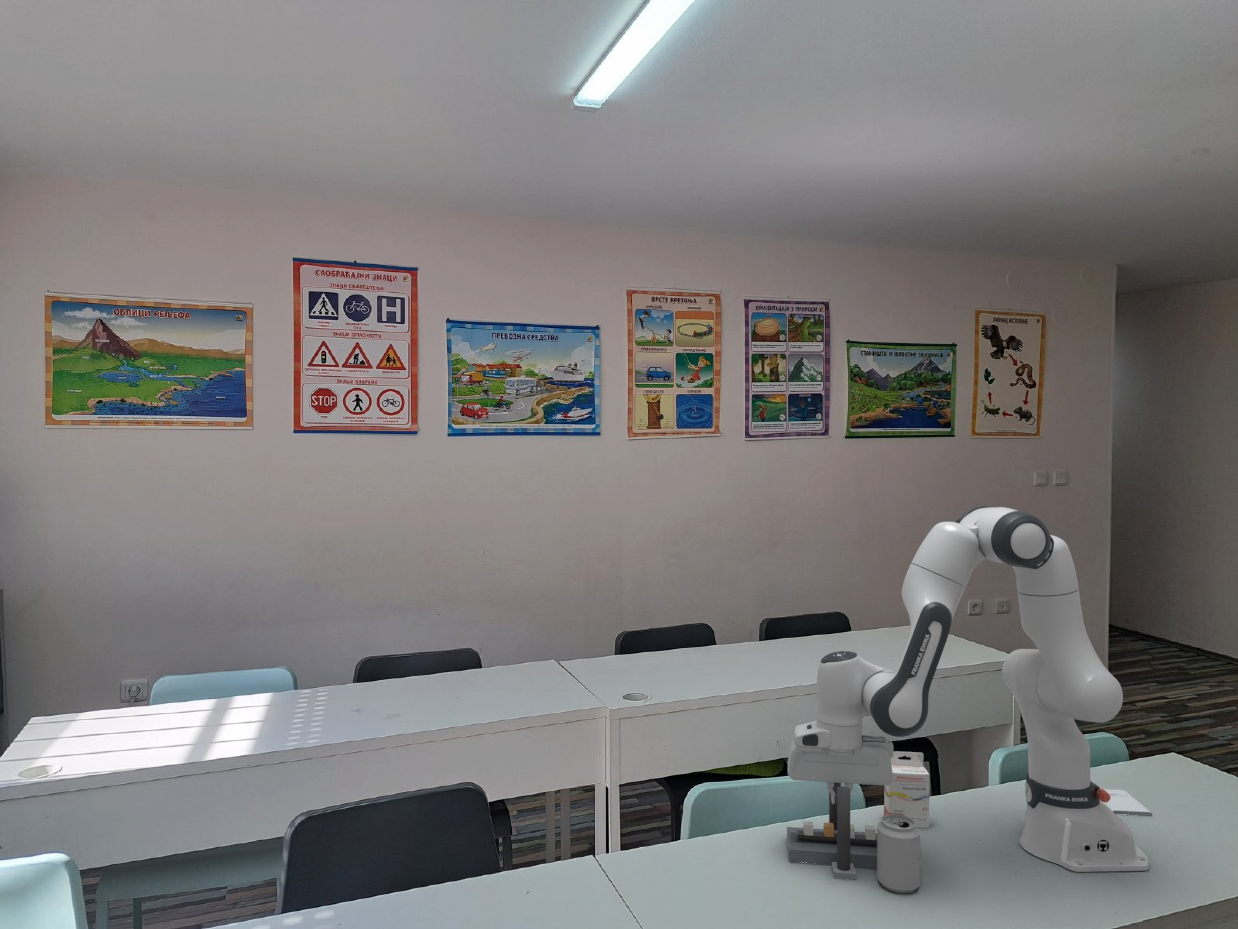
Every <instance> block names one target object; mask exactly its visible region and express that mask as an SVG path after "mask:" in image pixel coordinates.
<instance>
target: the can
mask: <svg viewBox="0 0 1238 929" xmlns="http://www.w3.org/2000/svg"><path fill="white" fill-rule="evenodd" d="M876 833H877V869H876V878H877V880H878V881H879V882H880V883H881V885H882V887H884V888H885V889H887V890H889V891H891V892H894V893H900V894H907V893H911V892H914V890H916V889H918V887H920V882H921V881H920V880H921V869H920V868H921V842H920V841H921V831H920V829H919V827H916V822H915V821H914V820H913V819H911V818H909V817H907V816H904V815H899V814H888V815H884V814H883V815H882V816H881V818H880V822H878V823H877V827H876Z"/></svg>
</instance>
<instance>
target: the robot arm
mask: <svg viewBox="0 0 1238 929" xmlns="http://www.w3.org/2000/svg"><path fill="white" fill-rule="evenodd" d="M984 561H988V562H992V563H996V564H1006V565H1008V566H1011V567H1012V569H1013V571H1014V574H1015V583H1016V591H1017V599H1018V606H1019V607H1018V608H1019V616H1020V624H1021V627H1022V630H1023V631H1024V633H1025V634H1026V636H1027V637H1029V639H1030V640H1031V641H1032V642H1033V644H1034V645H1035V647H1036V648H1019V649H1015V650H1013V651H1012V652H1010V653H1009V654H1008V655H1006V658H1005V659H1004V662H1003V664H1002V668H1001V673H1002V680H1003V682H1004V685H1005V686H1006V687H1007V688H1008V690H1009V691H1010V692H1011V693H1012V695H1013V697H1014V699H1015V700H1016V703H1017V705H1018V708H1019V710H1020V715H1021V716H1022V721H1023V723H1024V728H1025V733H1026V737H1027V738H1026V739H1027V756H1028V757H1027V758H1028V759H1027V760H1028V761H1027V762H1028V765H1027V766H1028V769H1027V770H1028V772H1027V773H1026V774H1025V784H1024V786H1025V787H1024V790H1025V791H1024V793H1025V794H1024V795H1025V801H1026V809H1025V818H1024V823H1023V827H1022V831H1021V834H1020V837H1019V838H1018V839H1019V840H1018V841H1019V845H1020V846H1021V847H1022V848H1023V850H1025V851H1027V852H1028V853H1030V854H1031V855H1033V856H1035V857H1037V858H1040V859H1042V860H1044V861H1047V862H1051V863H1054V864H1057V865H1060V866H1062V867H1063V868H1065V869H1068V870H1070V871H1072V872H1078V873H1081V872H1082V873H1085V872H1087V873H1089V872H1135V871H1136V872H1138V871H1139V872H1140V871H1142V872H1144V871H1149V869H1150V862H1149V858H1148V856H1147V855H1146V854H1145V853H1144V851H1143V850H1142V849H1141V848H1140V847H1138V845H1136V844H1135V840H1134V836H1133V833H1132V831H1131V829H1130V827H1129V826H1128V825H1127V823H1126V822H1125V821H1124V820H1123V819H1122V818H1121V817H1119V815H1116V814H1115V813H1113V812H1112V811H1111V810H1110V809H1108V808H1107V807H1106V806H1105V805H1103V804H1102V803H1101V802H1100V800H1101V801H1102V802H1105V803H1107V802H1109V801H1108V800H1111V799H1109V798H1111V797H1110V795H1109V793H1107V792H1106V791H1105V790H1104V789H1105V788H1101V787H1100V786H1099V785H1097V784H1096V783H1094V782H1093V781H1091V746H1090V743H1089V740H1088V739H1087V738H1086V736H1085V735H1084V734H1083V733H1082V731H1081V730H1080V729H1079V727H1078V725H1077V723H1076V721H1075V720H1077V721H1084V722H1090V723H1099V724H1100V723H1103V724H1104V723H1108V722H1109V721H1111V720H1113V719H1115V717H1116V716H1117V715H1118V714H1119V712H1120V711H1121V709H1122V706H1123V701H1124V694H1123V690H1122V686H1121V684H1120V682H1119V681H1118V679H1117V678H1116V677H1114V675H1113V674H1112V673H1111V672H1110V671H1109V670H1108V669H1107V667H1106V666H1105V665H1104V663H1103V662H1102V660H1101V659H1100V657H1099V656H1098V654H1097V652H1096V651H1095V649H1094V646H1093V644H1092V642H1091V640H1090V638H1089V636H1088V632H1087V629H1086V626H1085V623H1084V617H1083V616H1084V614H1083V611H1082V603H1081V596H1080V595H1081V594H1080V587H1079V580H1078V577H1077V571H1076V567H1075V563H1074V560H1073V557H1072V553H1071V550H1070V547H1069V546H1068V544H1067V543H1066V541H1065V540H1064V539H1062V538H1060V537H1059V536H1056V535H1053V534H1050V532H1049V530H1048V528H1047V526H1046V524H1045V523H1044V522H1043V521H1042V520H1041V519H1040V518H1038V517H1037V516H1035V515H1033V514H1031V513H1029V512H1028V511H1023V510H1018V509H1013V508H1011V507H1006V506H1005V507H1004V506H1003V507H1002V506H997V507H992V506H988V505H987V506H985V505H984V506H976V507H974V508H971V509H968V510H967V511H965V512H964V513H963V514H962V515H961V516H960V517H959V518H958V519H957V520H955V521H941V522H939V523H936V524H935V525H934V526H933V527H932V528H931V529H930V530H929V532H928V533H927V535H926V536H925V538H924V539H923V541H922V542H921V544H920V545H919V547H918V549H917V551H916V552H915V555H914V556H913V558H912V560H911V561H910V562H911V563H910V565H909V567H908V569H907V570H906V571H907V572H906V574H905V576H904V579H903V583H902V588H901V598H902V602H903V605H904V608H906V612H907V614H908V618H909V624H910V631H909V636H908V640H907V642H906V646H905V648H904V651H903V653H902V657H901V658H900V660H899V663H898V667H897V669H896V671H893V670H892V669H891V668H887V667H884V666H880V665H877V664H875V663H871V662H869V661H867V660H866V659H864V658H862V656H860V655H859V654H858V653H856V652H854V651H850V650H849V651H845V650H841V651H839V650H838V651H834V652H830V653H828V654H826V655H824V656H823V657H822V658H821V659H820V661H819V664H818V667H817V668H818V669H817V678H816V699H817V700H816V701H817V702H818V709H817V714H816V720H814V721H810V722H806V723H803V724H798V725H796V726H795V727H794V731H793V732H794V733H793V736H794V737H793V738H794V739H793V740H792V741H791V743H790V747H789V750H788V756H787V775H788V777H789V778H790V780H792V781H803V782H804V781H805V782H817V783H818V782H820V783H825V784H826V785H825V786H826V788H827V790H828V793H829V792H830V794H831V800H832V804H837V793H836V792H834V790H833V788H832V787H834V783H841V784H844V787H848V788H850V794H851V792H852V791H853V790H854V785H855V784H856V785H870V786H871V785H872V786H884V787H885V786H889V785H890V784H891V783H892V781H893V774H892V765H891V760H890V759H891V758H892V756H893V753H894V752H895V751H894V748H895V747H894V743H893V741H891V740H890V739H888V738H887V737H886V736H882V735H879V736H875V735H865V734H864V735H863V718H864V717H871V718H872V719H873V721H874V722H875V724H876V725H877V727H878V728H879V729H880V730H881V731H882V732H883V733H884V734H887V735H888V736H891V737H898V738H899V737H900V738H904V737H909V736H911V735H913V734H915V733H917V732H918V731H919V730H920V729H921V728H922V727H923V726H924V724H925V723H926V720H927V718H928V714H929V695H930V689H931V688H930V687H931V686H932V682H933V681H934V680H933V679H934V676H935V674H936V671H937V669H938V666H939V663H940V661H941V660H940V659H941V657H942V654H943V653H944V652H943V651H944V650H945V646H946V643H947V641H948V637H949V634H950V631H951V626H952V624H953V623H952V622H953V620H954V617H955V614H956V611H957V608H958V606H959V603H960V601H961V599H962V596H963V594H964V592H965V590H966V587H967V585H968V583H969V581H970V578H971V575H972V574H973V573H972V572H974V570H975V569H976V568H977V566H978V565H979V564H981V563H982V562H984Z"/></svg>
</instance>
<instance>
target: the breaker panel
mask: <svg viewBox="0 0 1238 929" xmlns="http://www.w3.org/2000/svg"><path fill="white" fill-rule="evenodd" d="M798 830H800V831H803V827H797V826H795V827H793V826H786V842H787V843H786V845H787V844H788V845H787V853H788V855H789V856H788V862H789V861H790V862H789V863H793V862H804V863H803V864H806V863H805V862H807V863H816V864H815V865H820V864H822V865H823V866H832V862H837V842H836V841H822V840H808V839H798ZM813 831H814V832H824V828H823V829H822V828H813ZM834 833H837V830H834ZM855 834H857V835H865V831H864V832H863V831H855ZM876 836H877V832H876ZM850 863H853V865H854V868H858V869H859V868H862V869H871V870H872V869H873V870H877V844H864V843H850ZM822 865H821V866H822Z"/></svg>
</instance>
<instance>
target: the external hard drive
mask: <svg viewBox="0 0 1238 929" xmlns="http://www.w3.org/2000/svg"><path fill="white" fill-rule="evenodd" d="M1103 789H1104V790H1105V791H1106V792H1107V793H1109V795H1110V797H1111V798H1109V799H1111V800H1108V801H1109V802H1107V803H1105V802H1102V801H1101V800H1100V801H1101V802H1102V804H1104V805H1105V806H1106V807H1107V808H1108V809H1110V810H1111V811H1112V812H1113V813H1115V814H1127V815H1126V816H1130V815H1138V816H1137V817H1148V816H1150V817H1151V818H1153V813H1152V812H1151V811H1150V810H1149V809H1148V808H1147V807H1146V806H1144V804H1142V803H1140V802H1139V801H1138V800H1137V798H1135V797H1133V795H1131V794H1130V793H1129V792H1128V791H1126V790H1125V789H1108V788H1103ZM1128 814H1129V815H1128ZM1150 817H1149V818H1150Z"/></svg>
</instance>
